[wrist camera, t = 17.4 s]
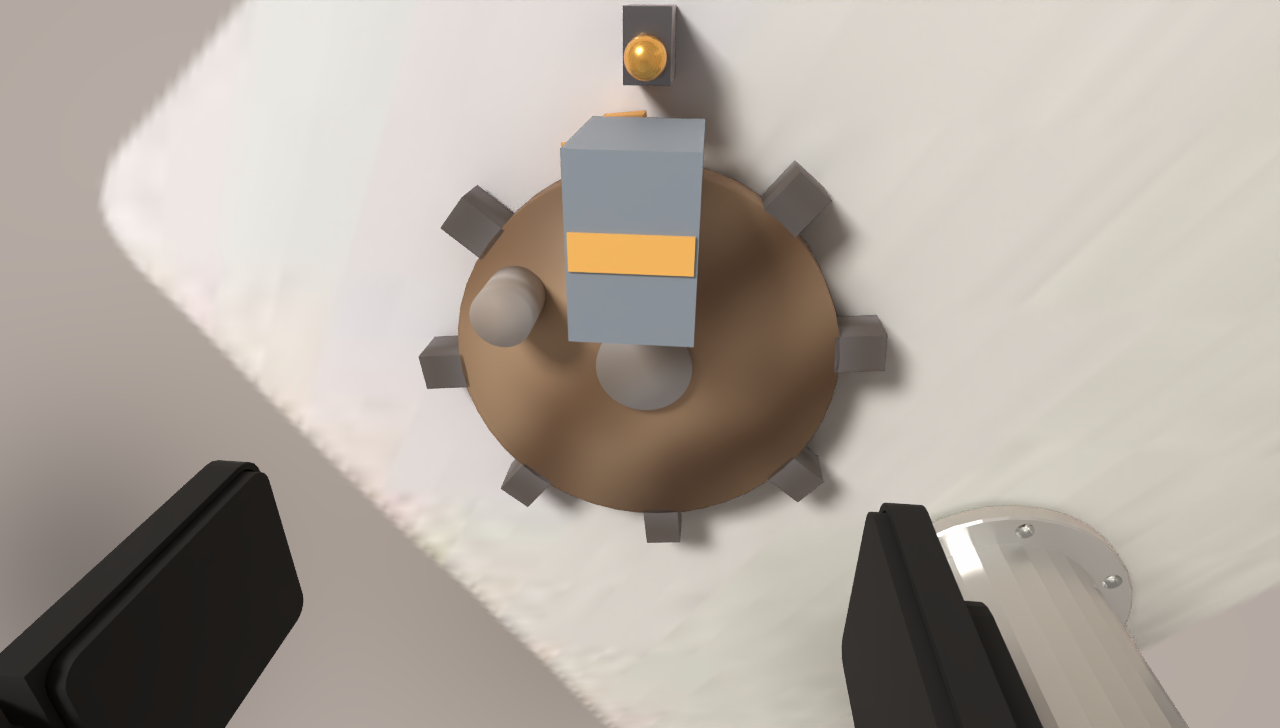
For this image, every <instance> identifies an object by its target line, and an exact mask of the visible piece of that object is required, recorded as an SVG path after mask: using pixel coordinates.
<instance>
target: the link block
mask: <svg viewBox="0 0 1280 728" xmlns="http://www.w3.org/2000/svg"><path fill="white" fill-rule="evenodd" d="M704 135H705V119H692V118H648V117H605V116H592V117H591V118H590V119H589V120H588V121H587V122H586V123H585V124H584V125H583V126H582V127H581V128H580V129H579V130H578V131H577V132H576V133H575V134H574V135H573V136H572V137H571V138H570V139H569V140H568V141H567V142H566V143H565V144H564V145H563V146H562V147H561V148H560V157H561V180H562V202H563V225H564V248H565V271H566V294H567V317H568V340H569V341H574V342H595V343H615V344H636V345H657V346H677V347H694V332H695V314H696V295H697V277H698V257H699V237H700V216H701V196H702V176H703V156H704Z"/></svg>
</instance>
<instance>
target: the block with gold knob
mask: <svg viewBox="0 0 1280 728" xmlns="http://www.w3.org/2000/svg"><path fill="white" fill-rule="evenodd" d="M676 7H677V5H625V6H623V85H646V86H670V85H671V83H672V81H673V79H674V76H675V42H676Z"/></svg>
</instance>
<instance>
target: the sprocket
mask: <svg viewBox="0 0 1280 728" xmlns="http://www.w3.org/2000/svg"><path fill="white" fill-rule="evenodd" d="M603 116H605V117H647V114H646V110H645V111H633V112H622V113H611V114H604V115H603ZM565 143H566V142H563V143H561V147H562V146H563V145H564V144H565ZM831 201H832V200H831V198H830V197H829V195H828V193H827V191H826V190H825V188H824V187H823V186H822V185H821V184H820V183H819V182H818V181H817V180H816V179H815V178H813V177H812V176H811V175H810V174H809V173H808V172H807V171H806V170H805V169H804V168H803V167H802V166H800V165H799V164H798V163H797V162H796V161H794V162H793V163H792V164H791V165H790V166H789V167H788V168H787V169H786V170H785V171H784V172H783V174H782V175H781V176H780V177H779V178H778V179H777V180H776V181H775V182H774V183H773V184H772V185H771V186H770V187H769V188H768V190H767V191H766V192H765V193H764V194H763V195H762V196H760V195H758V194H757V193H756V192H754V191H752V190H751V189H749V188H747V187H745V186H744V185H742V184H740V183H738V182H737V181H735V180H733V179H731V178H728V177H726V176H723V175H721V174H718V173H716V172H714V171H711V170H708V169H705V168H703V176H702V196H701V216H700V237H699V257H698V277H697V295H696V314H695V332H694V347H677V346H657V345H636V344H615V343H595V342H574V341H569V340H568V317H567V294H566V271H565V248H564V225H563V202H562V180H559V181H557V182H555V183H553V184H552V185H550V186H549V187H547V188H545V189H544V190H542V191H541V192H539V193H538V194H536V195H535V196H534V197H532V198H531V199H530V200H529V201H528V202H527V203H525V204H524V205H523V206H522V207H521V208H520V209H518V210H517V211H516V213H515V214H513V213H512V212H511V211H509V210H508V209H507V208H506V207H504V206H503V205H502V204H501V203H499V202H498V201H497V200H496V199H494V198H493V197H492V196H491V195H489V194H488V193H487V192H486V191H484V190H483V189H482V188H481V187H479V186H478V185H477V186H475V187H474V188H473V189H472V190H470V191H469V192H468V193H467V194H465V195H464V196H463V197H462V198H461V199H460V201H459V202H458V204H457V205H456V207H455V208H454V209H453V211H452V212H451V214H450V215H449V217H448V218H447V219H446V221H445V222H444V224H443V225H442V226H441V229H442V230H444V231H445V232H446V233H447V234H449V235H450V236H451V237H453V238H454V239H455V240H457V241H458V242H459V243H461V244H462V245H463V246H464V247H466V248H467V249H468V250H470V251H471V252H472V253H474V254H475V255H476V256H477V257H479V259H478V260H477V262H476V264H475V266H474V269H473V271H472V273H471V275H470V278H469V280H468V282H467V285H466V288H465V292H464V296H463V299H462V303H461V308H460V316H459V325H458V336H442V337H434V338H433V340H432V341H431V342H430V343H429V345H428V346H427V347H426V348H425V349H424V351H423V352H422V353H421V354H420V356H419V360H420V364H421V367H422V371H423V375H424V379H425V382H426V386H427V389H434V388H459V387H467V388H468V391H469V394H470V396H471V398H472V400H473V402H474V404H475V406H476V409H477V411H478V413H479V414H480V416H481V417H482V419H483V421H484V422H485V424H486V425H487V427H488V429H489V430H490V431H491V433H492V434H493V435H494V436H495V438H496V439H497V440H498V441H499V442H500V444H501V445H502V446H503V447H504V448H505V449H506V450H507V451H508V452H509V453H510V454H511V455H512V456H513V457H514V458H515V461H514V462H513V463H512V464H511V466H510V468H509V471H508V473H507V475H506V478H505V480H504V482H503V485H502V487H501V489H502V490H504V491H505V492H506V493H508V494H509V495H511V496H512V497H514V498H515V499H517V500H518V501H520V502H521V503H523V504H524V505H526V506H527V507H528V506H529V505H530V504H531V503H532V502H533V501H534V500H535V499H536V498H537V497H538V496H539V495H540V494H541V493H542V492H543V491H544V490H545V489H546V488H547V487H548V486H549V485H552V486H553V487H555V488H557V489H559V490H561V491H564V492H566V493H568V494H570V495H572V496H574V497H577V498H579V499H582V500H585V501H588V502H591V503H593V504H597V505H601V506H605V507H609V508H613V509H617V510H624V511H632V512H640V513H644V521H645V529H646V538H647V543H660V542H680V533H681V517H682V514H681V512H684V511H689V510H695V509H701V508H706V507H709V506H712V505H716V504H719V503H723V502H726V501H728V500H731V499H733V498H736V497H738V496H740V495H743V494H745V493H747V492H749V491H751V490H752V489H754V488H756V487H758V486H759V485H761V484H763V483H765V482H766V481H767V480H769V481H771V482H772V483H773V484H774V485H776V486H777V487H778V488H780V489H781V490H782V491H784V492H785V493H786V494H787V495H789V496H790V497H791V498H793V499H794V500H795V501H797V502H799V501H800V500H801V499H803V498H804V497H805V496H806V495H808V494H809V493H810V492H811V491H813V490H814V489H815V488H817V487H818V486H819V485H820V484H822V483H823V482H824V481H823V477H822V473H821V468H820V464H819V459H818V456H817V455H816V454H815V453H813V452H812V451H811V450H810V449H808V448H807V447H806V444H807V443H808V442H809V441H810V439H811V438H812V437H813V435H814V433H815V432H816V430H817V428H818V427H819V425H820V423H821V422H822V420H823V418H824V416H825V413H826V411H827V409H828V407H829V404H830V402H831V400H832V396H833V392H834V389H835V385H836V381H837V377H838V372H860V371H885V357H886V343H887V334H886V332H885V330H884V328H883V326H882V324H881V322H880V320H879V318H878V316H877V315H865V316H844V317H836V313H835V308H834V305H833V302H832V299H831V296H830V294H829V291H828V288H827V285H826V283H825V280H824V277H823V275H822V272H821V270H820V267H819V265H818V264H817V262H816V260H815V258H814V256H813V254H812V252H811V250H810V248H809V246H808V245H807V244H806V242H805V241H804V240H803V238H802V237H801V235H800V234H799V233H800V232H801V231H802V230H803V229H804V228H805V227H806V226H807V225H808V224H809V223H810V222H811V221H812V220H813V219H814V218H815V217H816V216H817V215H818V214H819V213H820V212H821V211H822V210H823V209H824V208H825V207H826V206H827V205H828V204H829V203H830V202H831Z"/></svg>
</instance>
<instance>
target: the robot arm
mask: <svg viewBox="0 0 1280 728" xmlns="http://www.w3.org/2000/svg"><path fill="white" fill-rule="evenodd" d="M1131 605H1132V586H1131V582H1130V579H1129V575H1128V571H1127V570H1126V568H1125V566H1124V565H1123V563H1122V561H1121V560H1120V558H1119V556H1118V555H1117V554H1116V552H1115V551H1114V550H1113V548H1112V547H1111V546H1110V545H1109V544H1108V542H1107V541H1106V540H1105V539H1104V537H1103V536H1101V535H1100V534H1099V533H1097V532H1096V531H1095V530H1093V529H1092V528H1091V527H1089V526H1088V525H1087V524H1085V523H1083V522H1081V521H1079V520H1077V519H1074V518H1072V517H1070V516H1068V515H1066V514H1063V513H1059V512H1055V511H1051V510H1047V509H1044V508H1037V507H1027V506H1017V505H1013V506H990V507H984V508H979V509H973V510H968V511H963V512H960V513H957V514H954V515H951V516H948V517H945V518H942V519H939V520H937V521H935V522H933V523H932V521H931V519H930V516H929V514H928V512H927V510H926V508H925V507H924V506H922V505H911V504H896V503H883V504H882V506H881V507H880V511H879V512H868V514H867V517H866V521H865V526H864V531H863V536H862V542H861V547H860V552H859V557H858V562H857V567H856V572H855V577H854V582H853V587H852V593H851V598H850V603H849V608H848V613H847V618H846V623H845V628H844V633H843V639H842V661H843V668H844V673H845V678H846V683H847V689H848V694H849V699H850V704H851V710H852V715H853V720H854V725H855V728H1189V727H1188V725H1187V724H1186V722H1185V721H1184V719H1183V718H1182V716H1181V715H1180V713H1179V712H1178V710H1177V709H1176V707H1175V705H1174V704H1173V702H1172V701H1171V699H1170V698H1169V696H1168V695H1167V693H1166V692H1165V690H1164V688H1163V687H1162V686H1161V684H1160V682H1159V681H1158V679H1157V678H1156V676H1155V675H1154V673H1153V672H1152V670H1151V668H1150V667H1149V666H1148V664H1147V662H1146V661H1145V659H1144V658H1143V656H1142V655H1141V653H1140V652H1139V650H1138V648H1137V647H1136V645H1135V644H1134V642H1133V641H1132V639H1131V638H1130V636H1129V635H1128V633H1127V632H1126V630H1125V628H1124V626H1125V624H1126V621H1127V618H1128V615H1129V612H1130V609H1131ZM302 607H303V594H302V590H301V587H300V583H299V580H298V577H297V573H296V570H295V567H294V563H293V560H292V556H291V553H290V550H289V546H288V543H287V540H286V536H285V533H284V529H283V526H282V523H281V519H280V516H279V512H278V509H277V505H276V502H275V499H274V495H273V492H272V489H271V485H270V482H269V479H268V477H267V475H266V474H264V473H262V472H260V471H259V468H258V467H257V466H256V465H255V464H254V463H250V462H236V461H222V460H217V461H212V462H210V463H209V464H207V465H206V466H205V467H204V468H203V469H202V470H201V471H199V472H198V473H197V474H196V475H195V476H194V477H193V478H192V479H191V480H190V481H188V482H187V483H186V484H185V485H184V486H183V487H182V488H181V489H180V490H179V491H177V492H176V493H175V494H174V495H173V496H172V497H171V498H170V499H169V500H168V501H167V502H165V504H163V505H162V506H161V507H160V508H159V509H158V510H157V511H156V512H154V514H152V515H151V516H150V517H149V518H148V519H147V520H146V521H145V522H143V523H142V524H141V525H140V526H139V527H138V528H137V529H136V530H135V531H134V532H133V533H131V534H130V535H129V536H128V537H127V538H126V539H125V540H124V541H123V542H122V543H121V544H119V545H118V546H117V547H116V548H115V549H114V550H113V551H112V552H111V553H109V554H108V555H107V556H106V557H105V558H104V559H103V560H102V561H101V562H100V563H99V564H97V565H96V566H95V567H94V568H93V569H92V570H91V571H90V572H89V573H88V574H86V575H85V576H84V577H83V578H82V579H81V580H80V581H79V582H78V583H77V584H76V585H74V587H72V588H71V589H70V590H69V591H68V592H67V593H66V594H65V595H63V596H62V597H61V598H60V599H59V600H58V601H57V602H56V603H55V604H54V605H53V606H51V607H50V608H49V609H48V610H47V611H46V612H45V613H44V614H43V615H42V616H41V617H39V618H38V619H37V620H36V621H35V622H34V623H33V624H32V625H31V626H29V627H28V628H27V629H26V630H25V631H24V632H23V633H22V634H21V635H20V636H18V637H17V638H16V639H15V640H14V641H13V642H12V643H11V644H10V645H9V646H7V647H6V648H5V649H4V650H3V651H2V652H1V653H0V728H225V727H226V725H227V724H228V722H229V721H230V719H231V718H232V716H233V715H234V713H235V712H236V710H237V709H238V707H239V706H240V704H241V703H242V701H243V700H244V699H245V697H246V696H247V694H248V692H249V691H250V690H251V688H252V687H253V685H254V684H255V682H256V681H257V679H258V678H259V676H260V675H261V673H262V672H263V670H264V669H265V667H266V666H267V664H268V663H269V661H270V660H271V658H272V657H273V656H274V654H275V653H276V651H277V650H278V648H279V647H280V645H281V644H282V642H283V641H284V639H285V638H286V636H287V635H288V633H289V632H290V630H291V629H292V627H293V626H294V625H295V623H296V622H297V620H298V618H299V616H300V614H301V611H302Z"/></svg>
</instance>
